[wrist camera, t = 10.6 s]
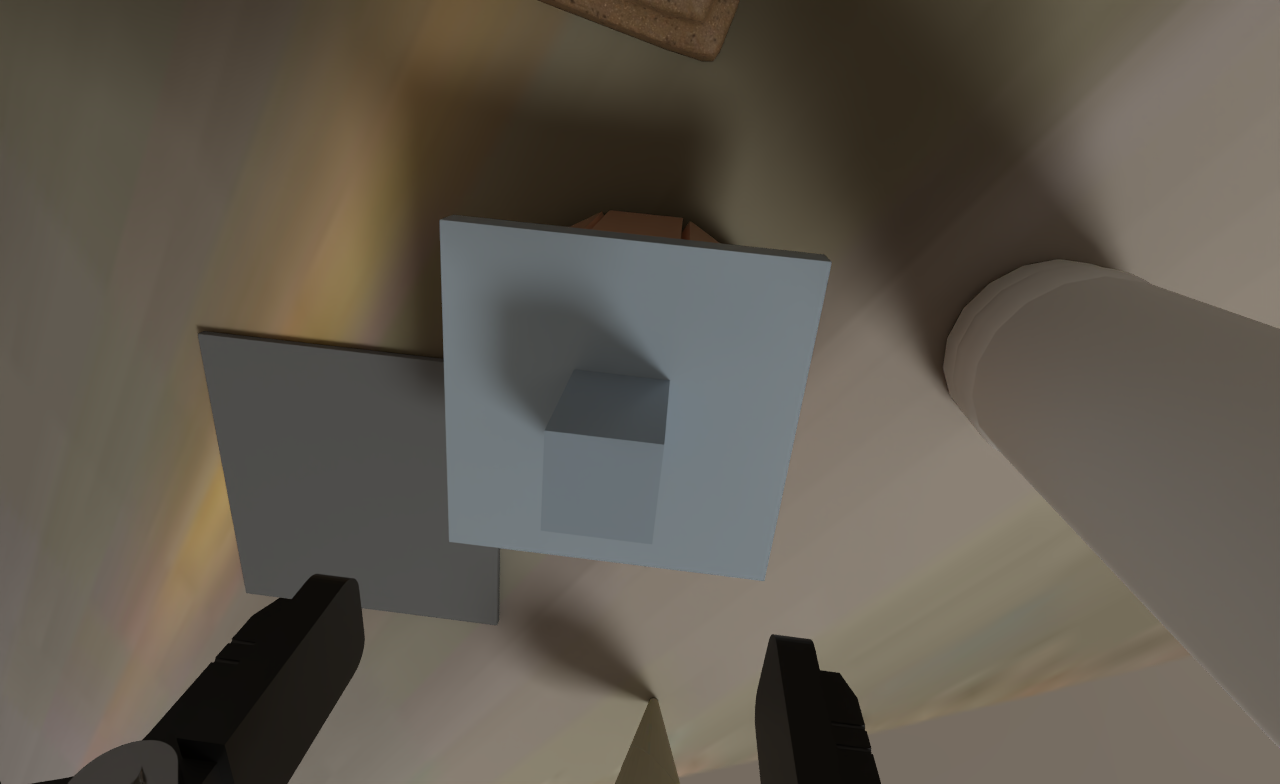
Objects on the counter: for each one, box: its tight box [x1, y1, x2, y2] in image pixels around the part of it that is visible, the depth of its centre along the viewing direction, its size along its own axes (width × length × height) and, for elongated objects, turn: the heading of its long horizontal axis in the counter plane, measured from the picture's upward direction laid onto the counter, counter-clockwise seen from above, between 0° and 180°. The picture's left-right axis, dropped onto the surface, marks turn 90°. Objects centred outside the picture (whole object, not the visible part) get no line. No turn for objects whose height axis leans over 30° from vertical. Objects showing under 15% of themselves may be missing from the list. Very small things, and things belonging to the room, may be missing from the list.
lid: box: [440, 215, 832, 581], centre depth 20 cm, size 12×12×6 cm
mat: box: [198, 331, 500, 625], centre depth 32 cm, size 15×14×1 cm
